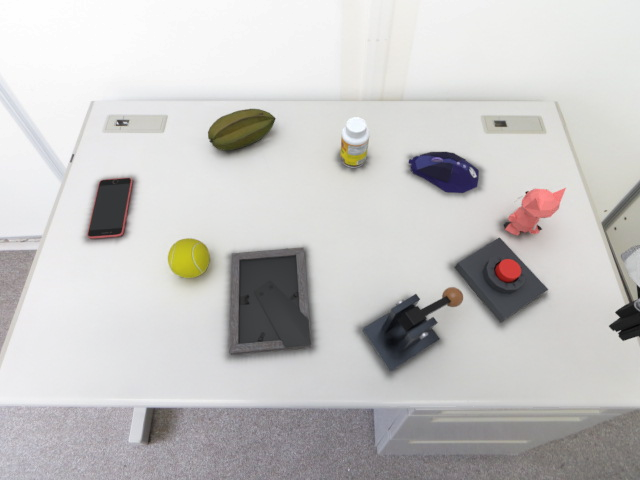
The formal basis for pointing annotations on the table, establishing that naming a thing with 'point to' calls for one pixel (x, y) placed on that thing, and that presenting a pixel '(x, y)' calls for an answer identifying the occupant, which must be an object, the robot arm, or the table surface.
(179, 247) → the tennis ball
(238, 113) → the fruit
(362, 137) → the supplement bottle
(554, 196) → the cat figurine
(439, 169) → the computer mouse
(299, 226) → the table surface
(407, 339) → the switch bracket
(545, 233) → the table surface
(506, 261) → the button
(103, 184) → the smartphone
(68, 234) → the table surface
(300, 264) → the picture frame
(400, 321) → the switch lever
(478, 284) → the grey base plate
